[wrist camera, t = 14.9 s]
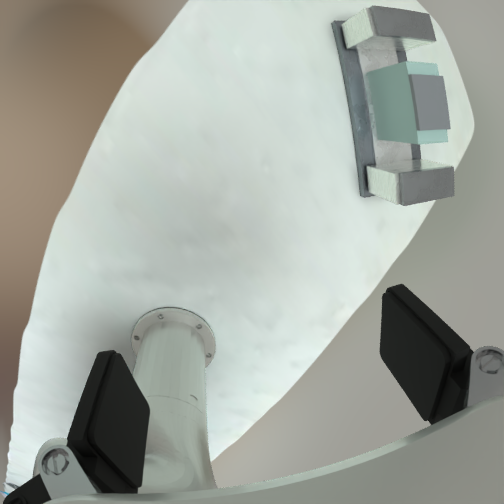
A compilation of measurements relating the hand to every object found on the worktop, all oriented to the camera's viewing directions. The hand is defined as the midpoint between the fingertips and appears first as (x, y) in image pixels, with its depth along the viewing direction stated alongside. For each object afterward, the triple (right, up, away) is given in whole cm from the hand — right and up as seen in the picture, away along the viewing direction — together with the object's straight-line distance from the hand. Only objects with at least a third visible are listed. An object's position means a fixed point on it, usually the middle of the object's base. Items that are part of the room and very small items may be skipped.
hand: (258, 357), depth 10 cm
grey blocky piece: (+17, +23, +26) cm, 39 cm away
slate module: (+17, +22, +25) cm, 38 cm away
